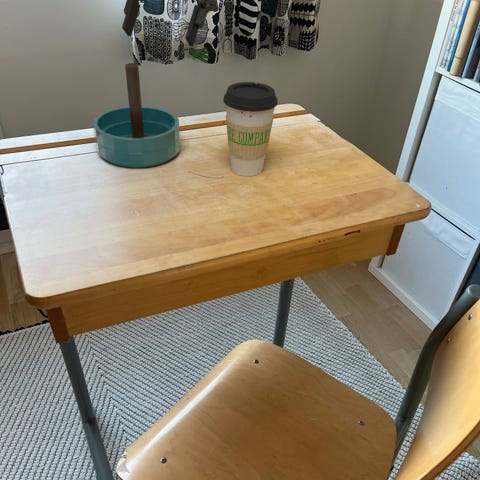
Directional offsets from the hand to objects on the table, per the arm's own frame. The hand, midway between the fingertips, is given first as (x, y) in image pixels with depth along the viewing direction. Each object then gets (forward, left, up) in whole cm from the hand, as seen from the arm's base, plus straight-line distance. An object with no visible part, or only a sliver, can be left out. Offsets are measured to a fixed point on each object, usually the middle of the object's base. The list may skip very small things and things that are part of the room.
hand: (157, 37), depth 99 cm
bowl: (+2, -10, -19) cm, 21 cm away
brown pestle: (+2, -10, -18) cm, 21 cm away
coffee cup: (+24, -4, -19) cm, 31 cm away
